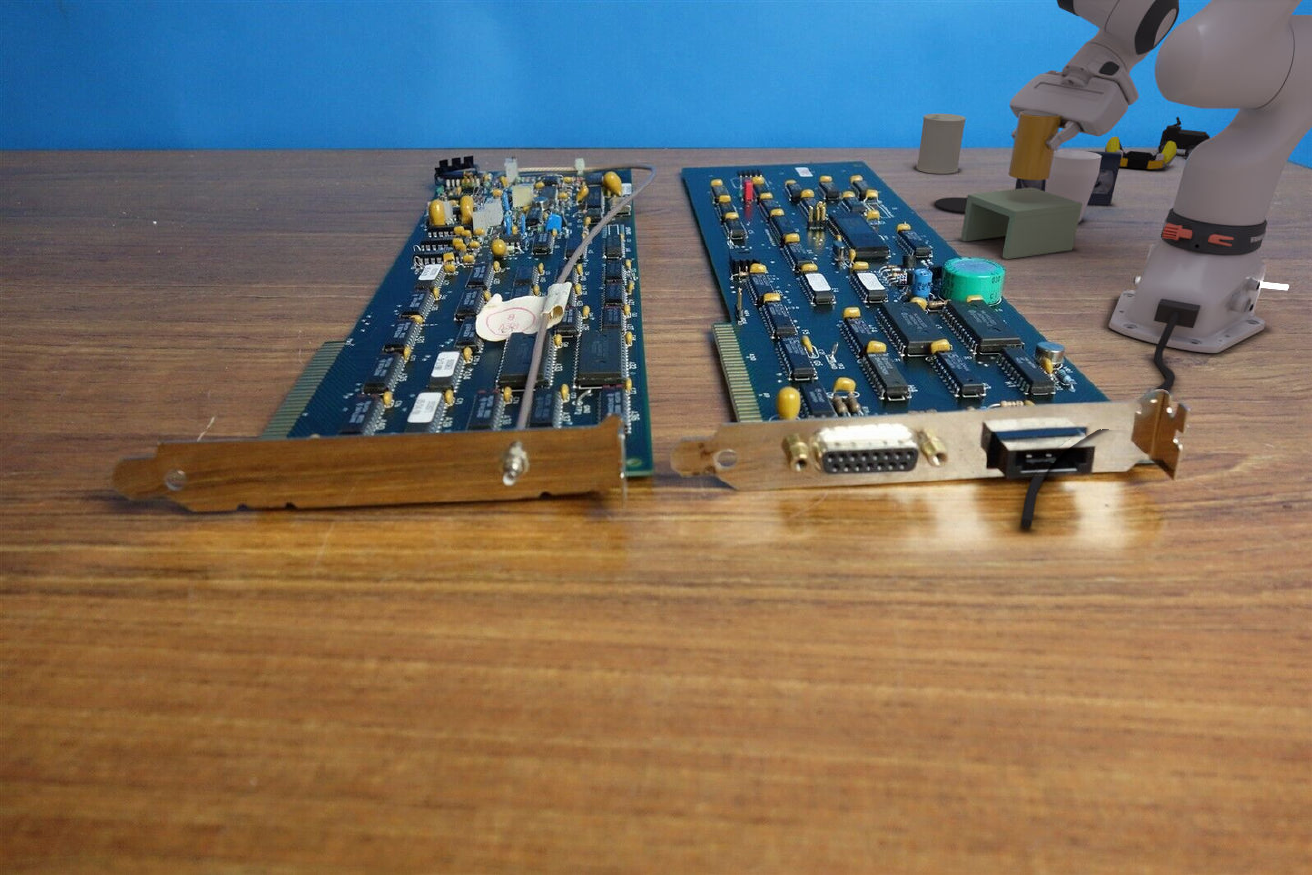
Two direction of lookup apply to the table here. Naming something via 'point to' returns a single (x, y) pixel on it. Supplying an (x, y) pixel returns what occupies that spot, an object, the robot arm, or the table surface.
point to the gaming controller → (1143, 155)
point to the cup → (1073, 175)
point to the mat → (952, 204)
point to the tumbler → (1033, 145)
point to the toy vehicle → (1182, 137)
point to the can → (940, 143)
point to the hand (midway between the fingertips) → (1032, 142)
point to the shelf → (1022, 221)
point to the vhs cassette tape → (1102, 186)
